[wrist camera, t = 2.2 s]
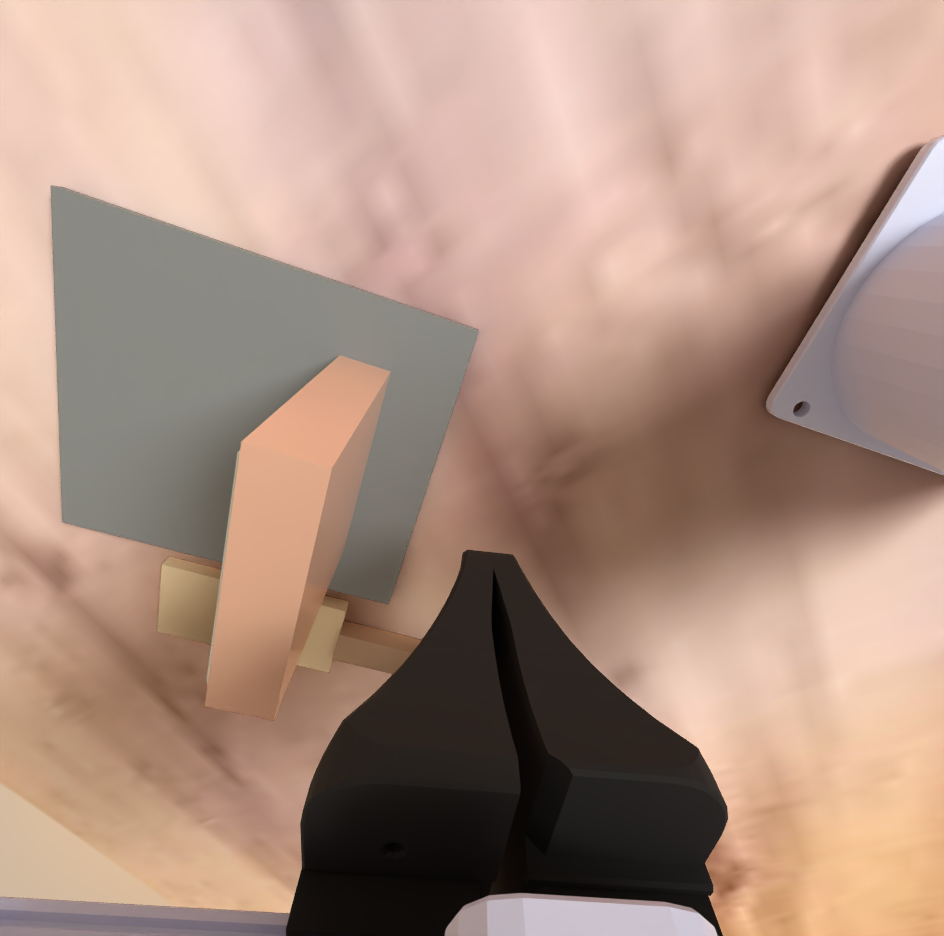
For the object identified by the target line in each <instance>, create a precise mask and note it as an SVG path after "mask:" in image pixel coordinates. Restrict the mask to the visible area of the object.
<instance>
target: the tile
mask: <svg viewBox="0 0 944 936" xmlns="http://www.w3.org/2000/svg"><path fill="white" fill-rule="evenodd" d="M390 373H391V371H388V370H385V369H381V368H378V367H375V366H372V365H369V364H366V363H363V362H360V361H357V360H353V359H350V358H347V357H344V356H341V355H340V356H338V357H337V358H336V359H335V360H334V361H333V362H332V363H330V364H329V365H328V366H327V367H326V368H325V369H324V370H322V371H321V372H320V373H319V374H318V375H317V376H316V377H314V378H313V379H312V380H311V381H310V382H309V383H308V384H306V385H305V386H304V387H303V388H302V389H301V390H300V391H298V392H297V393H296V394H295V395H294V396H293V397H292V398H290V399H289V400H288V401H287V402H286V403H285V404H284V405H282V406H281V407H280V408H279V409H278V410H277V411H276V412H274V413H273V414H272V415H271V416H270V417H269V418H268V419H266V420H265V421H264V422H263V423H262V424H261V425H260V426H258V427H257V428H256V429H255V430H254V431H253V432H252V433H251V434H249V435H248V436H247V437H246V438H245V439H244V440H243V441H241V448H240V450H239V451H238V452H237V459H236V466H235V474H234V481H233V488H232V496H231V503H230V510H229V518H228V525H227V532H226V540H225V547H224V554H223V562H222V569H221V576H220V584H219V591H218V598H217V606H216V613H215V620H214V628H213V635H212V642H211V650H210V657H209V664H208V672H207V679H206V682H207V683H208V686H207V693H206V700H205V706H206V707H211V708H216V709H220V710H225V711H230V712H235V713H239V714H244V715H249V716H254V717H258V718H263V719H268V720H273V721H274V719H275V716H276V714H277V711H278V709H279V707H280V704H281V702H282V699H283V697H284V694H285V692H286V690H287V687H288V685H289V682H290V680H291V677H292V675H293V672H294V670H295V668H296V665H297V663H298V660H299V658H300V655H301V653H302V650H303V648H304V646H305V643H306V641H307V638H308V636H309V633H310V631H311V629H312V626H313V624H314V621H315V619H316V616H317V614H318V611H319V609H320V607H321V604H322V602H323V599H324V597H325V594H326V592H327V589H328V587H329V585H330V582H331V580H332V577H333V575H334V572H335V570H336V568H337V565H338V563H339V560H340V558H341V555H342V553H343V550H344V547H345V543H346V540H347V536H348V532H349V528H350V524H351V521H352V517H353V513H354V509H355V505H356V502H357V498H358V494H359V490H360V486H361V483H362V479H363V475H364V471H365V467H366V464H367V460H368V456H369V452H370V449H371V445H372V441H373V437H374V433H375V430H376V426H377V422H378V418H379V414H380V411H381V407H382V403H383V399H384V395H385V392H386V388H387V384H388V380H389V377H390Z"/></svg>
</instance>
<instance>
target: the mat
mask: <svg viewBox="0 0 944 936" xmlns="http://www.w3.org/2000/svg"><path fill="white" fill-rule="evenodd" d="M51 210H52V239H53V267H54V296H55V325H56V354H57V382H58V411H59V440H60V468H61V497H62V522H63V523H67V524H71V525H75V526H79V527H83V528H87V529H91V530H95V531H99V532H103V533H107V534H111V535H115V536H119V537H123V538H127V539H131V540H135V541H139V542H143V543H147V544H150V545H154V546H158V547H162V548H166V549H170V550H174V551H178V552H182V553H186V554H190V555H194V556H198V557H202V558H206V559H210V560H214V561H218V562H223V554H224V547H225V540H226V532H227V525H228V518H229V510H230V503H231V496H232V488H233V481H234V474H235V466H236V459H237V452H238V451H239V450H240V448H241V441H243V440H244V439H245V438H246V437H247V436H248V435H249V434H251V433H252V432H253V431H254V430H255V429H256V428H257V427H258V426H260V425H261V424H262V423H263V422H264V421H265V420H266V419H268V418H269V417H270V416H271V415H272V414H273V413H274V412H276V411H277V410H278V409H279V408H280V407H281V406H282V405H284V404H285V403H286V402H287V401H288V400H289V399H290V398H292V397H293V396H294V395H295V394H296V393H297V392H298V391H300V390H301V389H302V388H303V387H304V386H305V385H306V384H308V383H309V382H310V381H311V380H312V379H313V378H314V377H316V376H317V375H318V374H319V373H320V372H321V371H322V370H324V369H325V368H326V367H327V366H328V365H329V364H330V363H332V362H333V361H334V360H335V359H336V358H337V357H338V356H340V355H341V356H344V357H347V358H350V359H353V360H357V361H360V362H363V363H366V364H369V365H372V366H375V367H378V368H381V369H385V370H388V371H391V373H390V377H389V380H388V384H387V388H386V392H385V395H384V399H383V403H382V407H381V411H380V414H379V418H378V422H377V426H376V430H375V433H374V437H373V441H372V445H371V449H370V452H369V456H368V460H367V464H366V467H365V471H364V475H363V479H362V483H361V486H360V490H359V494H358V498H357V502H356V505H355V509H354V513H353V517H352V521H351V524H350V528H349V532H348V536H347V540H346V543H345V547H344V550H343V553H342V555H341V558H340V560H339V563H338V565H337V568H336V570H335V572H334V575H333V577H332V580H331V582H330V585H329V587H328V589H329V590H333V591H337V592H341V593H345V594H349V595H353V596H357V597H361V598H365V599H369V600H372V601H376V602H380V603H384V604H389V601H390V598H391V595H392V592H393V589H394V586H395V583H396V580H397V577H398V574H399V571H400V568H401V565H402V562H403V559H404V556H405V553H406V550H407V547H408V544H409V541H410V538H411V535H412V532H413V529H414V526H415V523H416V520H417V517H418V514H419V511H420V508H421V505H422V502H423V499H424V496H425V493H426V490H427V486H428V483H429V480H430V477H431V474H432V471H433V468H434V465H435V462H436V459H437V456H438V453H439V450H440V447H441V444H442V441H443V438H444V435H445V432H446V429H447V426H448V423H449V420H450V417H451V414H452V411H453V408H454V405H455V402H456V399H457V396H458V393H459V390H460V387H461V384H462V381H463V378H464V375H465V372H466V369H467V366H468V363H469V359H470V356H471V353H472V350H473V347H474V344H475V341H476V338H477V335H478V332H479V330H478V329H475V328H472V327H470V326H467V325H464V324H461V323H458V322H455V321H452V320H449V319H446V318H443V317H440V316H437V315H435V314H432V313H429V312H426V311H423V310H420V309H417V308H414V307H411V306H408V305H405V304H402V303H399V302H397V301H394V300H391V299H388V298H385V297H382V296H379V295H376V294H373V293H370V292H367V291H364V290H362V289H359V288H356V287H353V286H350V285H347V284H344V283H341V282H338V281H335V280H332V279H329V278H326V277H324V276H321V275H318V274H315V273H312V272H309V271H306V270H303V269H300V268H297V267H294V266H291V265H289V264H286V263H283V262H280V261H277V260H274V259H271V258H268V257H265V256H262V255H259V254H256V253H253V252H251V251H248V250H245V249H242V248H239V247H236V246H233V245H230V244H227V243H224V242H221V241H218V240H215V239H213V238H210V237H207V236H204V235H201V234H198V233H195V232H192V231H189V230H186V229H183V228H180V227H178V226H175V225H172V224H169V223H166V222H163V221H160V220H157V219H154V218H151V217H148V216H145V215H142V214H140V213H137V212H134V211H131V210H128V209H125V208H122V207H119V206H116V205H113V204H110V203H107V202H105V201H102V200H99V199H96V198H93V197H90V196H87V195H84V194H81V193H78V192H75V191H72V190H69V189H67V188H64V187H58V186H51Z"/></svg>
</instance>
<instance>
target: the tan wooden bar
mask: <svg viewBox="0 0 944 936" xmlns="http://www.w3.org/2000/svg"><path fill="white" fill-rule="evenodd" d="M220 576H221V569H217V568H213V567H209V566H205V565H201V564H197V563H193V562H189V561H185V560H181V559H177V558H173V557H169V558H168V559H167V560H166V561H165V562H164V563H163V564H162V568H161V583H160V597H159V611H158V625H157V632H160V633H164V634H168V635H172V636H177V637H181V638H185V639H189V640H193V641H198V642H202V643H206V644H210V645H211V642H212V635H213V628H214V620H215V613H216V606H217V598H218V591H219V584H220ZM348 605H349V601H345V600H341V599H337V598H333V597H329V596H325V597H324V599H323V602H322V604H321V607H320V609H319V611H318V614H317V616H316V619H315V621H314V624H313V626H312V629H311V631H310V633H309V636H308V638H307V641H306V643H305V646H304V648H303V650H302V653H301V655H300V658H299V660H298V663H297V665H298V666H302V667H306V668H310V669H315V670H319V671H323V672H327V673H329V670H330V667H331V664H332V661H333V660H337V661H342V662H346V663H350V664H354V665H358V666H362V667H366V668H370V669H374V670H379V671H383V672H387V673H391V674H394V673H395V672H396V671H397V670H398V669H399V668H400V666H401V665H402V664H403V663H404V662H405V661H406V660H407V658H408V657H409V656H410V655H411V653H412V652H413V651H414V650H415V648H416V647H417V646H418V645H419V643H420V642H421V641H422V640H420V639H416V638H412V637H408V636H404V635H400V634H396V633H392V632H388V631H384V630H380V629H376V628H372V627H368V626H364V625H360V624H356V623H352V622H348V621H344V619H345V615H346V612H347V608H348Z"/></svg>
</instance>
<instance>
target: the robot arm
mask: <svg viewBox="0 0 944 936" xmlns="http://www.w3.org/2000/svg"><path fill="white" fill-rule="evenodd" d="M799 402H802V403H803V404H802V407H801V408H800V409H799V410H798V411H797V412H795V413H793V409H794V407H795V405H796V404H797V403H799ZM766 408H767V410H768V412H769V413H771V414H772V415H774V416H775V417H777V418H779V419H782V420H785V421H788V422H791V423H794V424H797V425H800V426H802V427H805V428H808V429H811V430H814V431H817V432H820V433H823V434H826V435H828V436H831V437H834V438H837V439H840V440H843V441H846V442H849V443H851V444H854V445H857V446H860V447H863V448H866V449H869V450H872V451H874V452H877V453H880V454H883V455H886V456H889V457H892V458H895V459H898V460H900V461H903V462H906V463H909V464H912V465H915V466H918V467H921V468H923V469H926V470H929V471H932V472H935V473H938V474H941V475H944V135H943V136H939V137H936V138H933V139H931V140H930V141H929V142H927V143H926V144H925V145H924V146H923V147H922V148H921V150H920V151H919V152H918V154H917V156H916V157H915V159H914V160H913V162H912V164H911V165H910V167H909V169H908V170H907V172H906V173H905V175H904V177H903V178H902V180H901V182H900V183H899V185H898V186H897V188H896V190H895V191H894V193H893V195H892V196H891V198H890V199H889V201H888V203H887V204H886V206H885V208H884V209H883V211H882V212H881V214H880V216H879V217H878V219H877V221H876V222H875V224H874V225H873V227H872V229H871V230H870V232H869V234H868V235H867V237H866V238H865V240H864V242H863V243H862V245H861V247H860V248H859V250H858V251H857V253H856V255H855V256H854V258H853V260H852V261H851V263H850V264H849V266H848V268H847V269H846V271H845V273H844V274H843V276H842V277H841V279H840V281H839V282H838V284H837V286H836V287H835V289H834V290H833V292H832V294H831V295H830V297H829V299H828V300H827V302H826V303H825V305H824V307H823V308H822V310H821V312H820V313H819V315H818V316H817V318H816V320H815V321H814V323H813V325H812V326H811V328H810V329H809V331H808V333H807V334H806V336H805V338H804V339H803V341H802V342H801V344H800V346H799V347H798V349H797V351H796V352H795V354H794V355H793V357H792V359H791V360H790V362H789V364H788V365H787V367H786V368H785V370H784V372H783V373H782V375H781V377H780V378H779V380H778V381H777V383H776V385H775V386H774V388H773V390H772V391H771V393H770V394H769V396H768V398H767V401H766ZM727 820H728V812H727V806H726V803H725V801H724V799H723V797H722V795H721V792H720V790H719V788H718V786H717V783H716V781H715V779H714V777H713V775H712V773H711V771H710V769H709V767H708V765H707V764H706V762H705V760H704V758H703V757H702V755H701V753H700V751H699V749H698V748H697V747H696V746H694V745H693V744H691V743H690V742H689V741H687V740H686V739H684V738H683V737H681V736H680V735H678V734H677V733H675V732H674V731H672V730H671V729H670V728H668V727H667V726H665V725H664V724H662V723H661V722H659V721H658V720H657V719H655V718H654V717H653V716H651V715H650V714H649V713H647V712H646V711H645V710H644V709H642V708H641V707H640V706H639V705H637V704H636V703H635V702H633V701H632V700H631V699H630V698H629V697H627V696H626V695H625V694H624V693H623V692H622V691H620V690H619V689H618V688H617V687H616V686H615V685H614V684H612V683H611V682H610V681H609V680H608V679H607V678H606V677H605V676H604V675H603V674H602V673H601V672H600V671H598V670H597V669H596V668H595V667H594V666H593V665H592V664H591V663H590V662H589V661H588V660H587V659H586V657H585V656H584V655H583V654H582V653H581V652H580V651H579V650H578V649H577V648H576V647H575V645H574V644H573V643H572V642H571V641H570V640H569V638H568V637H567V636H566V635H565V633H564V632H563V631H562V630H561V628H560V627H559V626H558V624H557V623H556V622H555V620H554V619H553V618H552V616H551V615H550V614H549V612H548V611H547V609H546V608H545V606H544V605H543V603H542V602H541V600H540V599H539V597H538V596H537V594H536V593H535V591H534V590H533V588H532V586H531V585H530V583H529V581H528V580H527V578H526V576H525V575H524V573H523V571H522V569H521V568H520V566H519V564H518V562H517V560H516V558H515V557H514V556H513V555H511V554H502V553H492V552H483V551H473V550H467V551H465V552H464V553H463V555H462V562H461V568H460V571H459V574H458V577H457V580H456V582H455V584H454V586H453V588H452V591H451V593H450V595H449V597H448V599H447V601H446V603H445V604H444V606H443V608H442V610H441V611H440V613H439V615H438V617H437V618H436V620H435V622H434V623H433V625H432V626H431V628H430V629H429V631H428V632H427V634H426V635H425V636H424V638H423V639H422V641H421V642H420V643H419V645H418V646H417V647H416V648H415V650H414V651H413V652H412V653H411V655H410V656H409V657H408V658H407V660H406V661H405V662H404V663H403V664H402V665H401V666H400V668H399V669H398V670H397V671H396V672H395V673H394V674H393V675H392V676H391V677H390V678H389V679H388V680H387V681H386V682H385V683H384V684H383V685H382V686H381V687H380V688H379V689H378V690H377V691H376V692H375V693H374V694H373V695H372V696H371V697H370V698H369V699H367V700H366V701H365V702H364V703H363V704H362V705H360V706H359V707H358V708H357V709H356V710H355V711H353V712H352V713H351V714H350V715H349V716H347V717H346V718H345V719H344V720H343V722H342V723H341V725H340V726H339V728H338V730H337V731H336V733H335V735H334V737H333V738H332V740H331V742H330V744H329V745H328V747H327V749H326V751H325V753H324V755H323V757H322V759H321V761H320V763H319V765H318V767H317V769H316V772H315V774H314V777H313V779H312V782H311V784H310V788H309V791H308V795H307V798H306V802H305V805H304V809H303V813H302V818H301V823H300V824H301V852H302V870H301V874H300V878H299V881H298V885H297V889H296V893H295V896H294V900H293V904H292V908H291V911H290V913H273V912H256V911H239V910H221V909H204V908H187V907H169V906H152V905H135V904H117V903H100V902H82V901H65V900H47V899H31V898H14V897H0V936H723V935H722V932H721V929H720V927H719V924H718V921H717V918H716V916H715V913H714V910H713V907H712V905H711V902H710V899H709V897H708V895H709V896H711V894H712V893H713V884H712V881H711V879H710V876H709V873H708V871H707V868H706V865H705V862H706V860H707V858H708V857H709V855H710V853H711V852H712V850H713V848H714V847H715V845H716V843H717V842H718V840H719V839H720V837H721V835H722V833H723V831H724V828H725V826H726V823H727Z"/></svg>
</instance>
